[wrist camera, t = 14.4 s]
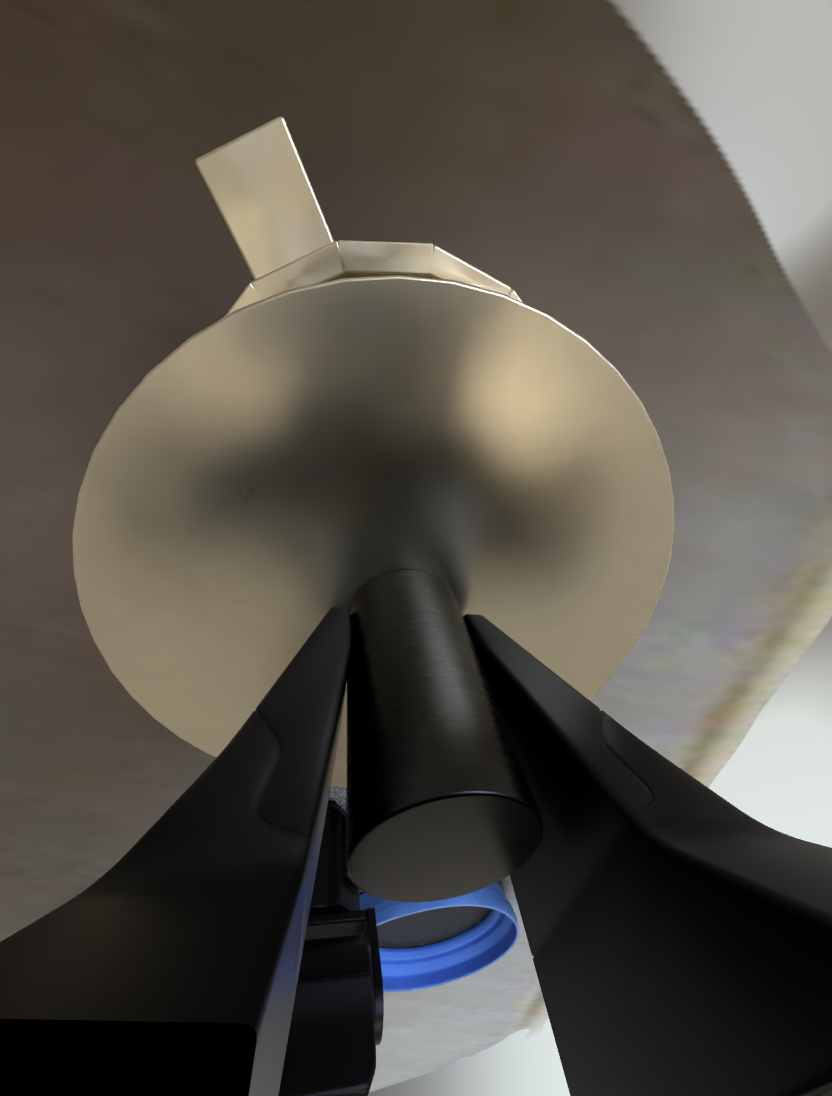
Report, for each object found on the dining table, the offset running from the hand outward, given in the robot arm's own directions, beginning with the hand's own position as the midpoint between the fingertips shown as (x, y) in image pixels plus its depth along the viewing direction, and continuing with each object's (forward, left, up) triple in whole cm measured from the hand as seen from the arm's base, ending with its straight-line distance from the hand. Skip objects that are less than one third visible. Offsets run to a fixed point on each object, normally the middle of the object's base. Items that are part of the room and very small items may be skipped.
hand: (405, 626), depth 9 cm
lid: (0, 0, -1) cm, 1 cm away
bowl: (-15, -44, -13) cm, 49 cm away
